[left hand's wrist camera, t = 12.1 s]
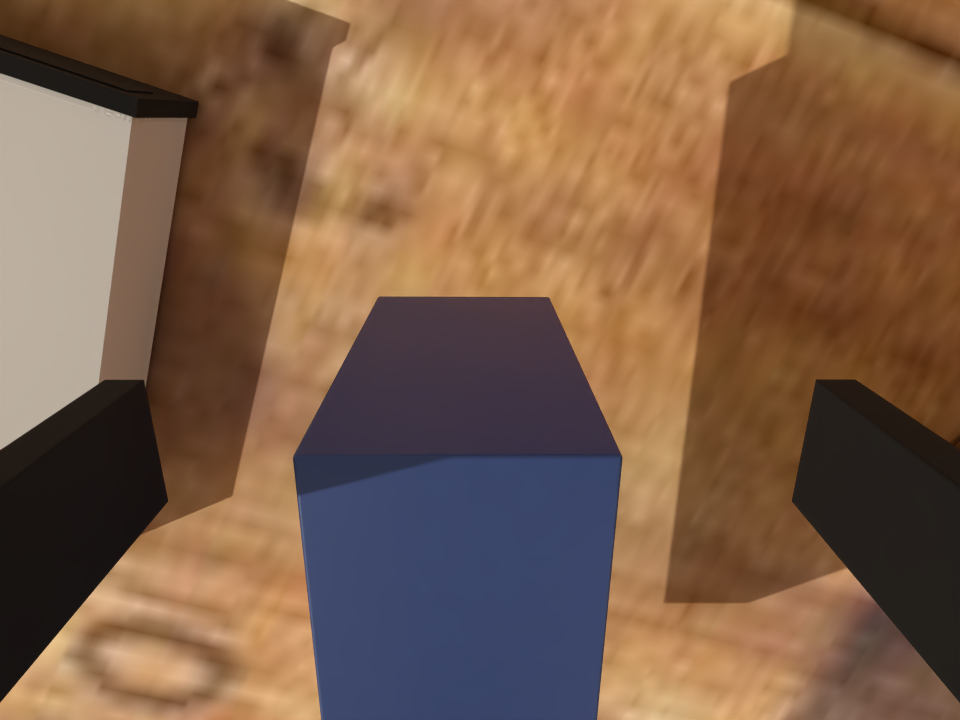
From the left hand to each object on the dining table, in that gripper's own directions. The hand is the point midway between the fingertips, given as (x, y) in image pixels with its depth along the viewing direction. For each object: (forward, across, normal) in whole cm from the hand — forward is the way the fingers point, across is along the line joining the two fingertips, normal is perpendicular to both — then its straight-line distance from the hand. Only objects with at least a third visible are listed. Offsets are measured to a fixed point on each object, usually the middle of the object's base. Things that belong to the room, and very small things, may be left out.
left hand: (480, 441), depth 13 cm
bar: (+6, 0, -12) cm, 13 cm away
